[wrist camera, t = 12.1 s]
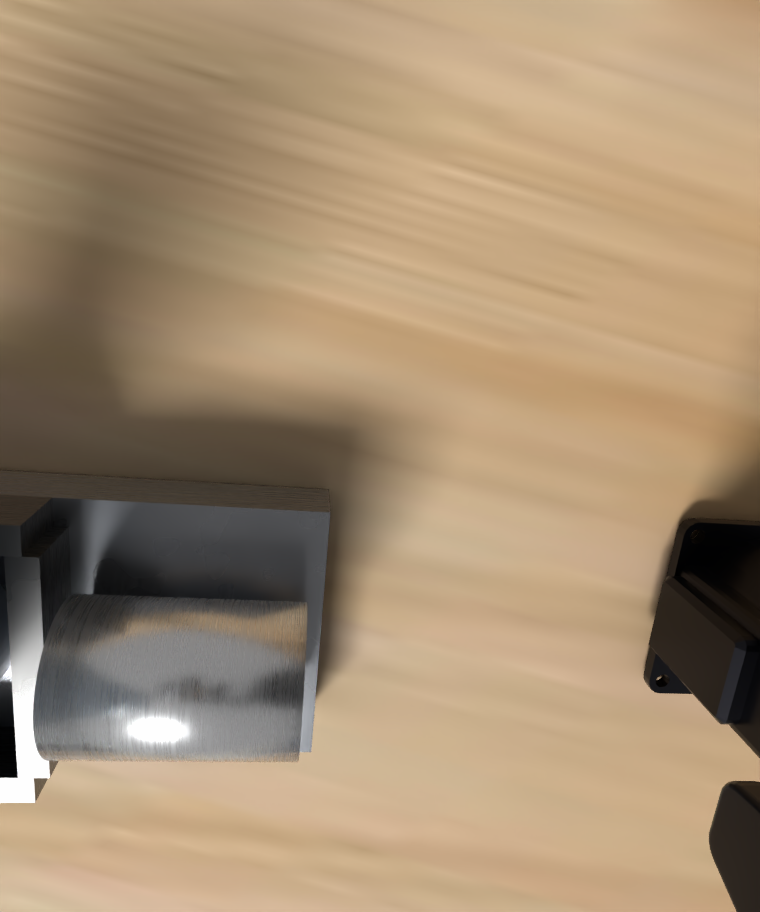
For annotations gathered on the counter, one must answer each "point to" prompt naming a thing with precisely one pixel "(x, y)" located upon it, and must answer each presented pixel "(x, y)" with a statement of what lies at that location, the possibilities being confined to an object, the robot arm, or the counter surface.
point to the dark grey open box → (157, 622)
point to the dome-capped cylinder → (4, 634)
